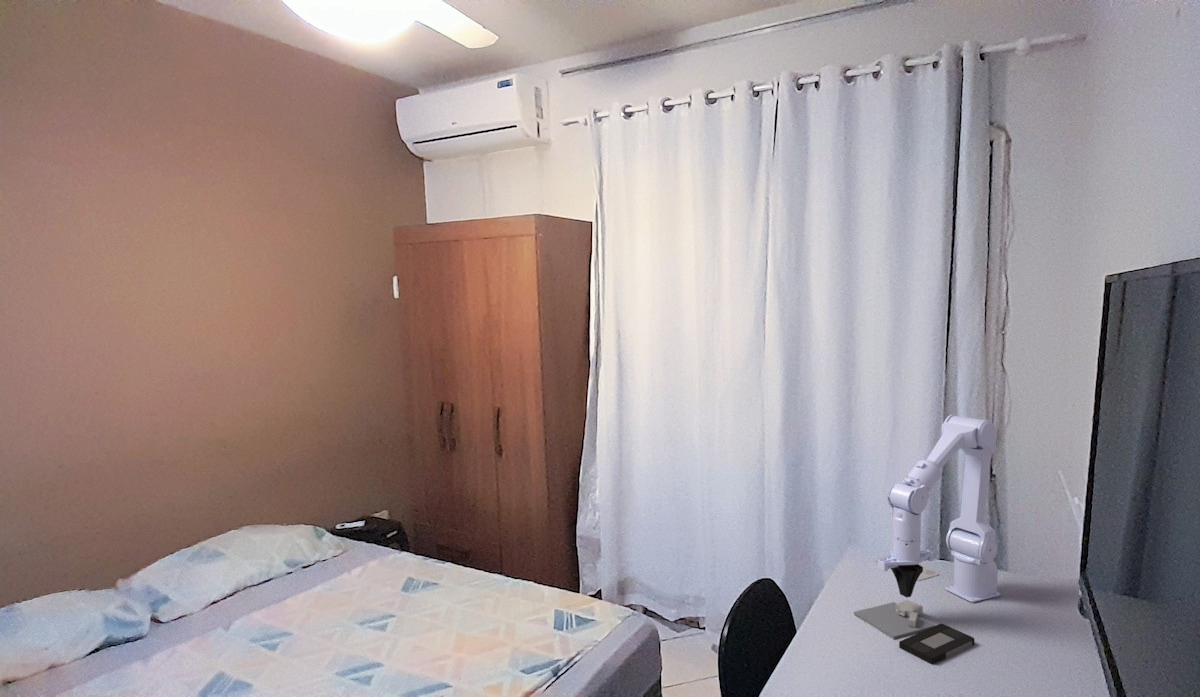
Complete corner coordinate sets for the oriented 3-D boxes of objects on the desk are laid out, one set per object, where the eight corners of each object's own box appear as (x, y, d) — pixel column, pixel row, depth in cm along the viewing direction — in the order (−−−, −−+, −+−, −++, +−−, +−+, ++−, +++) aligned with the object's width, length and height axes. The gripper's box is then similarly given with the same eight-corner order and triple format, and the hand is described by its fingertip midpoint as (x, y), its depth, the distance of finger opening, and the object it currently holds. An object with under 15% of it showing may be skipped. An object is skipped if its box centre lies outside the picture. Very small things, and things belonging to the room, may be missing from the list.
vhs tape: (974, 647, 140) (974, 638, 140) (932, 667, 133) (932, 658, 133) (941, 631, 147) (941, 623, 146) (899, 650, 140) (899, 641, 139)
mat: (894, 604, 158) (894, 602, 158) (935, 627, 147) (935, 625, 147) (853, 614, 154) (853, 611, 154) (893, 639, 143) (893, 636, 143)
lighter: (906, 606, 156) (884, 615, 152) (906, 599, 156) (884, 608, 152) (934, 618, 150) (913, 628, 146) (935, 611, 150) (913, 621, 146)
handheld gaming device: (917, 579, 170) (872, 558, 184) (917, 582, 170) (872, 561, 184) (941, 572, 174) (895, 553, 188) (941, 575, 174) (895, 555, 188)
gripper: (916, 526, 156) (915, 582, 158) (868, 536, 151) (867, 593, 152) (942, 536, 150) (940, 594, 151) (892, 547, 145) (891, 607, 146)
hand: (905, 595), depth 151 cm, fingers closed
